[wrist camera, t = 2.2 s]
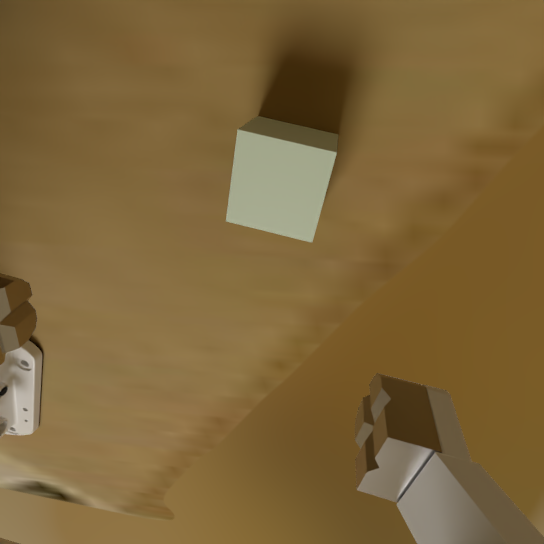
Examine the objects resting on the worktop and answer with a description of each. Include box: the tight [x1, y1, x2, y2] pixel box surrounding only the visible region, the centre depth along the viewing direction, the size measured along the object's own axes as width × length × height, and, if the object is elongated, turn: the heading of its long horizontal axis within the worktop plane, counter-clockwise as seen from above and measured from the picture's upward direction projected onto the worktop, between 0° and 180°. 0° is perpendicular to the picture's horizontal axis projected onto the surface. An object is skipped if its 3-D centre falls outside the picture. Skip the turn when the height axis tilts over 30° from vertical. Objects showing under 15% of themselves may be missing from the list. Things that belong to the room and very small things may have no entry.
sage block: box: [226, 116, 338, 242], centre depth 21 cm, size 5×5×5 cm
